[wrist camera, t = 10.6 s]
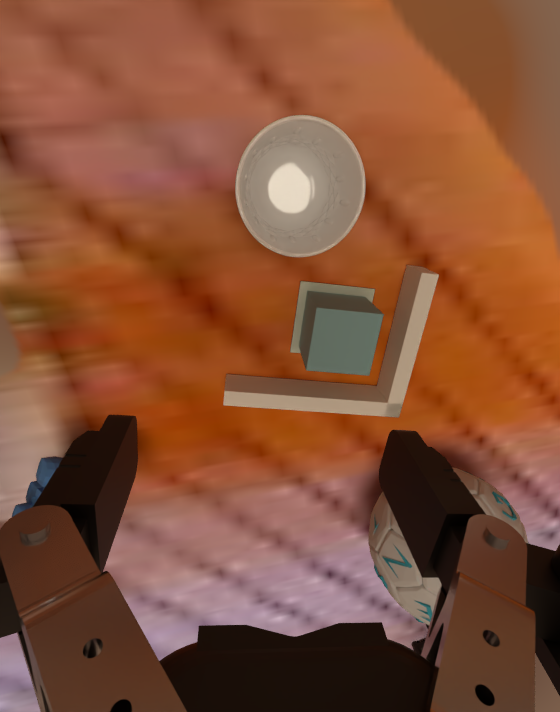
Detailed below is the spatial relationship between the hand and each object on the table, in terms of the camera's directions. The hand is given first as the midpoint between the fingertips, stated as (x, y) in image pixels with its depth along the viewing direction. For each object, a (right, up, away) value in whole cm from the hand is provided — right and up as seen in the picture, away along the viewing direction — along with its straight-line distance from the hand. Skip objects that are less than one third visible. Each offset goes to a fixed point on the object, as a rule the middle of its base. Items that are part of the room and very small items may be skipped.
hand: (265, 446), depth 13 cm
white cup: (+1, +17, +21) cm, 27 cm away
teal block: (+5, +6, +25) cm, 26 cm away
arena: (+4, +5, +26) cm, 27 cm away
